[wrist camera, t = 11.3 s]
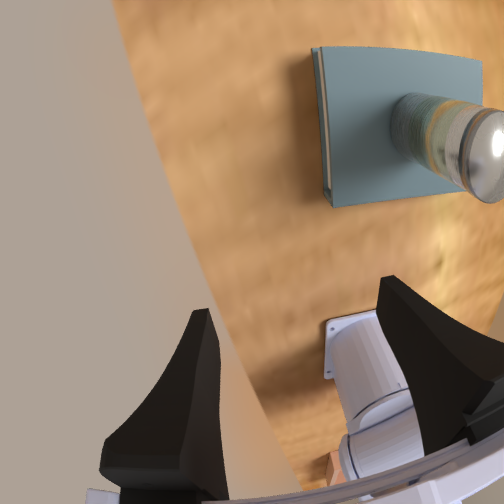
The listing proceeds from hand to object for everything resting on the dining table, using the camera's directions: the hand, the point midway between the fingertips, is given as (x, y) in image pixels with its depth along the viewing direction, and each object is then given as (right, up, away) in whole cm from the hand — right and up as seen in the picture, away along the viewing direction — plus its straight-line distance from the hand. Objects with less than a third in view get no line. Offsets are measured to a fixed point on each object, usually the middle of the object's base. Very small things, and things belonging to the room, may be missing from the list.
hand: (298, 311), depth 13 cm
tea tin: (+9, +10, +4) cm, 14 cm away
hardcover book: (+8, +12, +6) cm, 16 cm away
